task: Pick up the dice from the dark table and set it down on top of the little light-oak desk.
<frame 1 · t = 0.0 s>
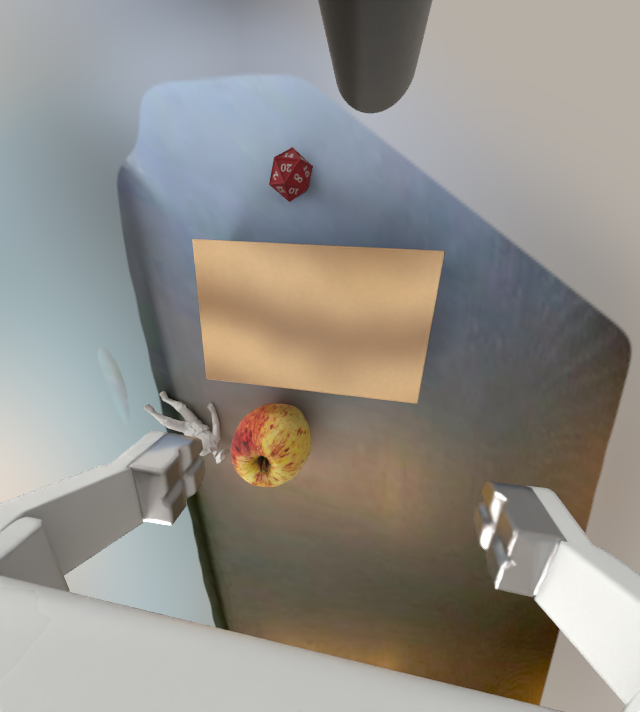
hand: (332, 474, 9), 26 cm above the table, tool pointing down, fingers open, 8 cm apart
dice: (296, 180, 30), on the table
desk: (319, 310, 34), on the table
apple: (286, 418, 40), on the table
soldier figure: (198, 418, 42), on the table
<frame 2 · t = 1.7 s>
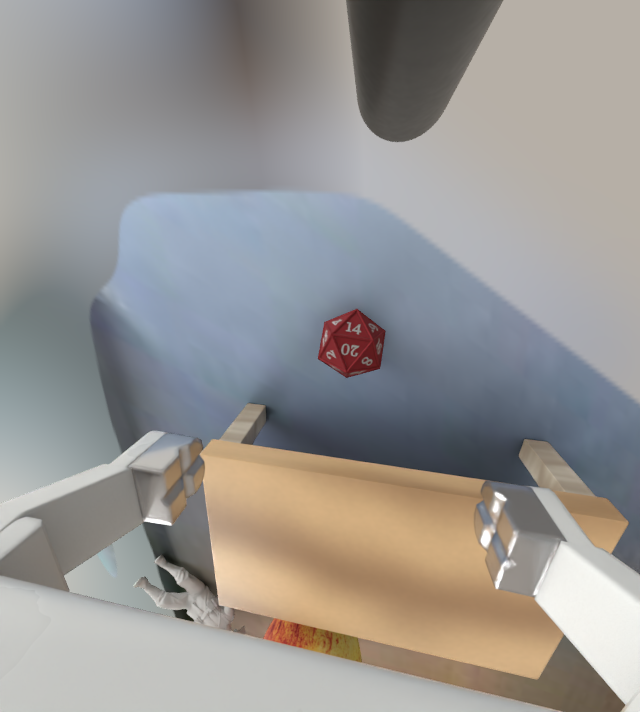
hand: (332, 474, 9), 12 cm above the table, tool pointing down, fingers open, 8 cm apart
dice: (353, 334, 20), on the table
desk: (376, 491, 24), on the table
apple: (320, 595, 30), on the table
soldier figure: (204, 581, 33), on the table
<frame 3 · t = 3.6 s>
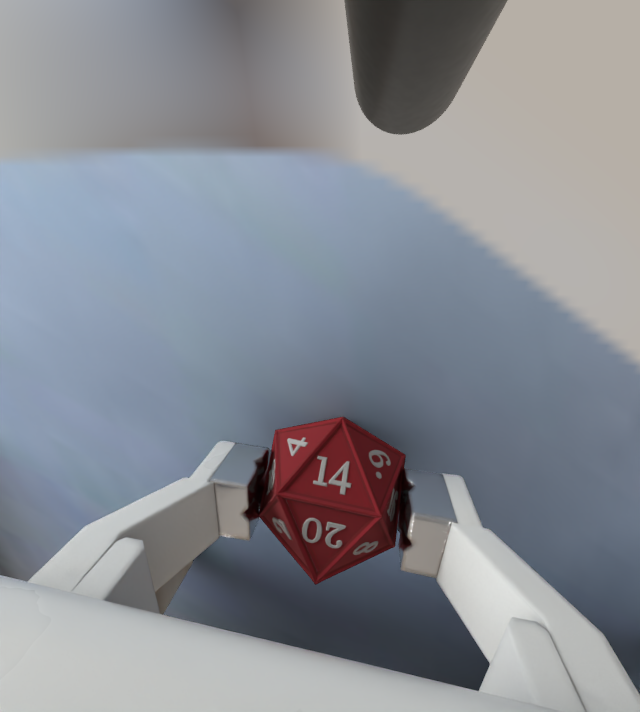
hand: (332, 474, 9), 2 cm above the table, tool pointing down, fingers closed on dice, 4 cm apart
dice: (339, 438, 10), on the table, touching gripper
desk: (383, 674, 14), on the table
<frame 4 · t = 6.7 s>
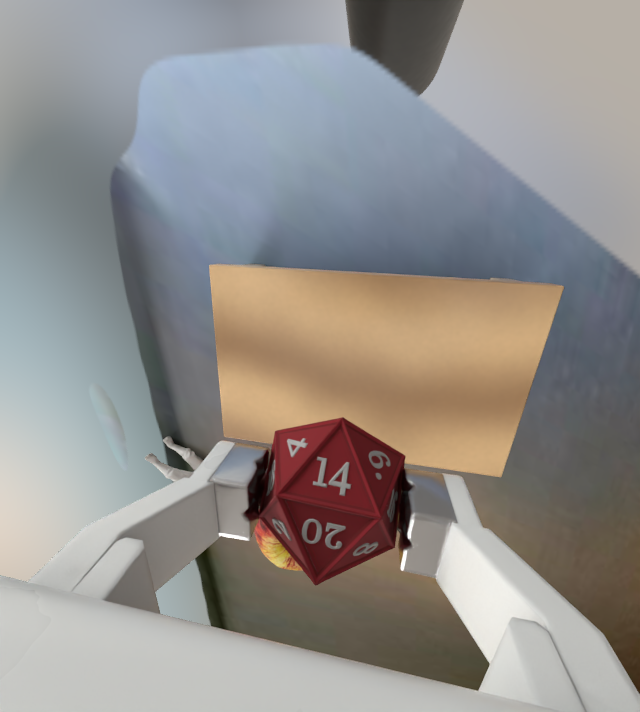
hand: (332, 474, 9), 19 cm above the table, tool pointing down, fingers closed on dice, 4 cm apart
dice: (339, 438, 10), point 17 cm above the table, touching gripper
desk: (364, 347, 27), on the table
apple: (315, 469, 33), on the table
soldier figure: (208, 466, 36), on the table
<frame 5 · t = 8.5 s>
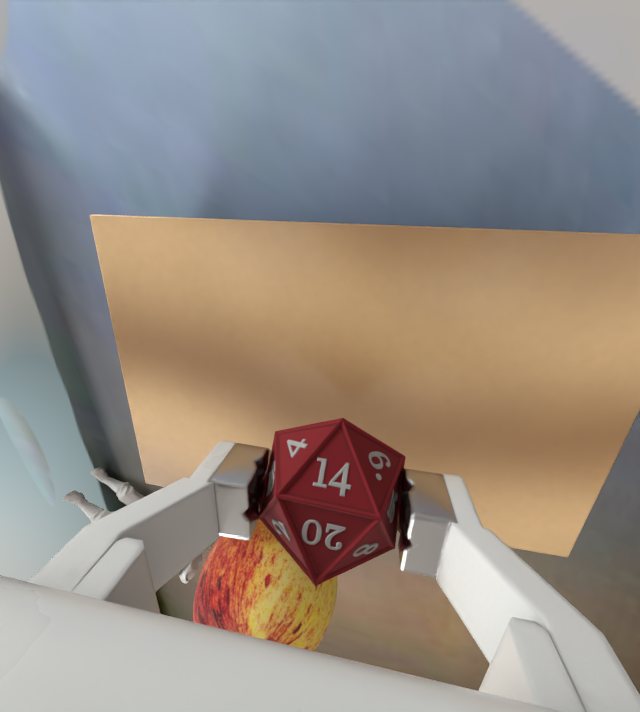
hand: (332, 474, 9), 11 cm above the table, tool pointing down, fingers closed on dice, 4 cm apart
dice: (339, 439, 10), point 9 cm above the table, touching gripper
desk: (354, 350, 19), on the table
apple: (291, 512, 25), on the table
soldier figure: (155, 504, 27), on the table
when the fingers open (8 cm above the table, at t = 9.8 s): dice stays where it is, resting on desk.
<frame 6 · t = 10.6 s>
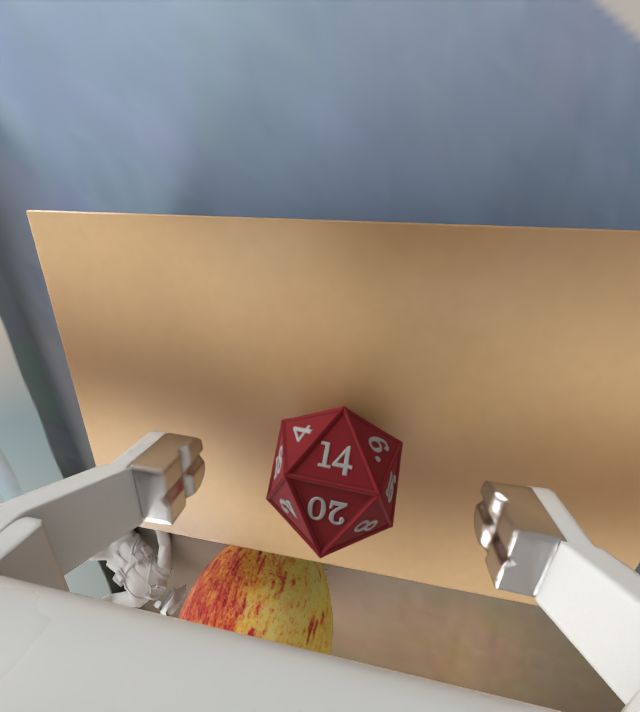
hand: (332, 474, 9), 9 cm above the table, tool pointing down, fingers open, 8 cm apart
dice: (341, 428, 11), point 6 cm above the table, touching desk
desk: (351, 365, 17), on the table
apple: (284, 540, 23), on the table
soldier figure: (136, 528, 25), on the table
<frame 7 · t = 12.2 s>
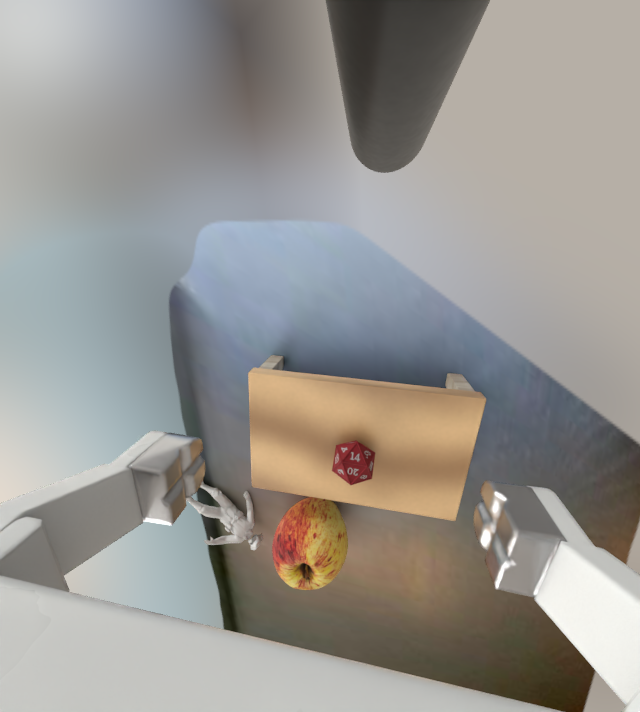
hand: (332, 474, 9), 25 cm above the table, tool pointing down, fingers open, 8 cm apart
dice: (354, 447, 30), point 6 cm above the table, touching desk
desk: (357, 416, 36), on the table
apple: (318, 506, 41), on the table
soldier figure: (231, 501, 44), on the table
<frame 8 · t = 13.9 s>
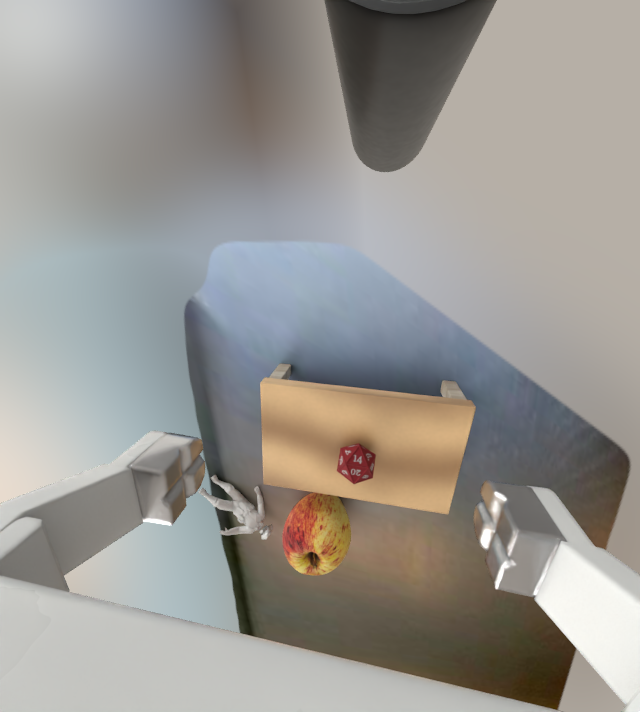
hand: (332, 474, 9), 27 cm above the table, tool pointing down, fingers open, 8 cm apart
dice: (357, 449, 33), point 6 cm above the table, touching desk
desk: (359, 419, 39), on the table
apple: (324, 499, 45), on the table
soldier figure: (243, 495, 47), on the table
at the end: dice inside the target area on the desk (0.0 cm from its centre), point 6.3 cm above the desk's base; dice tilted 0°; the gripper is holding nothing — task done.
